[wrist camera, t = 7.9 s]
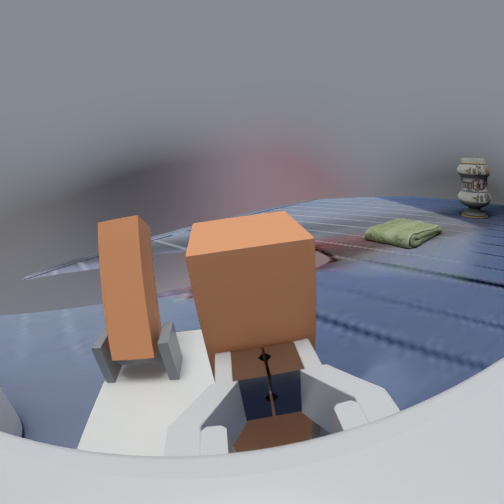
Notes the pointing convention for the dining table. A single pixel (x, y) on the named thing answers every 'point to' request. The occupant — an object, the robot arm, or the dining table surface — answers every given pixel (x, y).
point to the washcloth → (402, 232)
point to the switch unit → (149, 395)
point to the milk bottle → (9, 417)
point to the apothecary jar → (474, 186)
